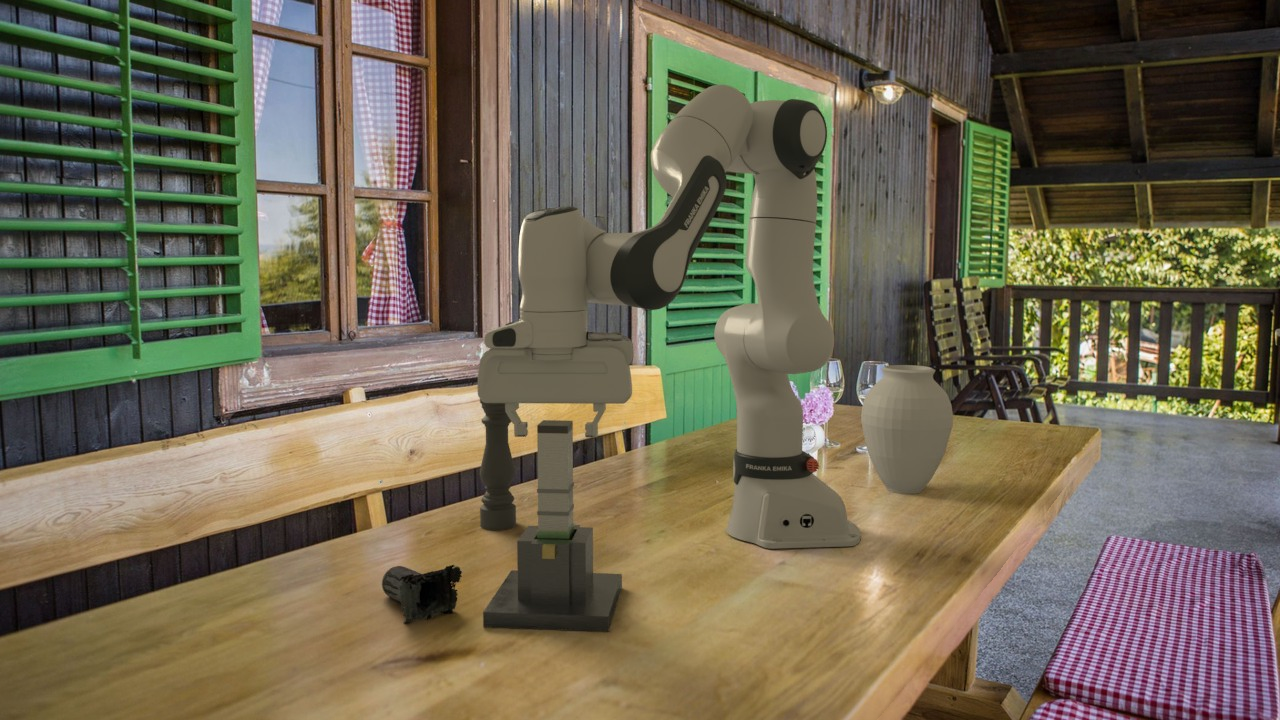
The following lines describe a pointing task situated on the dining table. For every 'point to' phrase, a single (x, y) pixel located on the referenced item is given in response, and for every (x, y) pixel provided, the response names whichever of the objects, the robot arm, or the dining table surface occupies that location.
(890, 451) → the vase
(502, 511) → the candle holder
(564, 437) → the column
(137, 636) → the dining table surface
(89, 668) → the dining table surface
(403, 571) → the dark flanged cylinder
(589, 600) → the stand
